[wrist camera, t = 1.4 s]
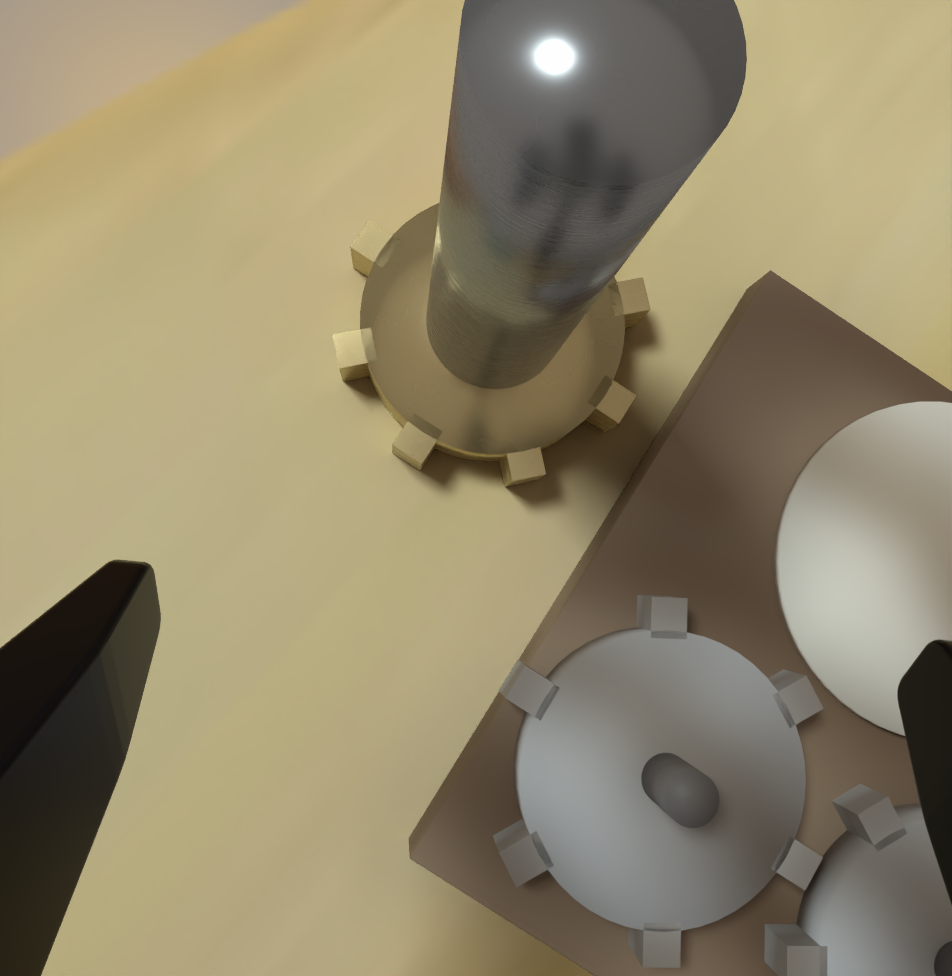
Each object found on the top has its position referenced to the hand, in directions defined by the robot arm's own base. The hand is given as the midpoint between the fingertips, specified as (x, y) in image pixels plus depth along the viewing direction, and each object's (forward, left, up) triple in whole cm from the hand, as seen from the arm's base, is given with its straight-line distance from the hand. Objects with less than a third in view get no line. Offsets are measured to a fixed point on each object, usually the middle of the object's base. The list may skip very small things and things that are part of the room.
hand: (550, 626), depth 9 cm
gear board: (+3, -11, -13) cm, 17 cm away
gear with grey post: (+6, +3, -13) cm, 15 cm away
